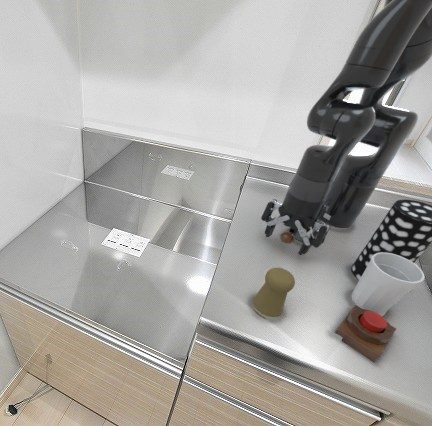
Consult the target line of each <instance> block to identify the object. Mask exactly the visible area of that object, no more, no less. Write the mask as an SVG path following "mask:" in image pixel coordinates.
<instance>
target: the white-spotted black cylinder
mask: <svg viewBox="0 0 432 426" xmlns="http://www.w3.org/2000/svg"><path fill="white" fill-rule="evenodd" d="M431 244H432V205H431V204H429V203H426V202H423V201H418V200H414V199H398V200H395V202H393V204H392V206H391V207H390V208H389V210H388V212H387V213H386V214H385V216H384V218H383V219H382V221H381V222H380V224H379V225H378V226H377V228H376V229H375V231H374V233H373V234H372V236H371V237H370V239H369V240H368V242H367V243H366V244H365V246H364V247H363V249H362V251H360V254H358V256H357V258H356V260H355V261H354V263H353V264H351V265H352V266H350V271H351V274H352V275H353V277H355V278H356V280H358V281H359V280H360V278H361V277H362V275H363V273H364V271H365V269H366V268H367V266H368V264H369V262H370V260H371V258H372V256H373V255H374V254H376V253H381V252H385V253H392V254H396V255H399V256H401V257H404V258H406V259H408V260H410V261H411V262H413V263H414V264H416V263H415V262H417V260H418V259H419V258H420V257H421V255H423V253H424V252H425V251H426V250H427V249H428V247H429V246H430V245H431Z"/></svg>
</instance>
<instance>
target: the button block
mask: <svg viewBox="0 0 432 426" xmlns="http://www.w3.org/2000/svg"><path fill="white" fill-rule="evenodd" d="M366 311H370V310H366V309H362V308H360V307H359V306H358V305H357V304H355V305H354V306H353V307H352V308H351V310H350V311H349V313H348V314H347V315H346V316H345V318H344V319H343V320H342V321H341V323H340V324H339V325H338V327H337V328H336V330H335V331H334V333H335V334H337V335H338V336H340V337H341V341H342V342H343V344H346V345H347V346H348V347H350V348H352V349H353V350H355V351H356V352H358V353H359V354H360V355H362V356H363V357H365V358H367V359H368V360H370V361H371V362H373V363H375V362H376V361H378V360H379V358H380V357H381V356H382V354H383V352H384V351H385V349H386V347H387V346H388V343H389V342H390V340H391V338H392V337H393V335H394V334H395V332H396V330H397V327H395V326H393V325H391V324H390V323H389V322H388V321H387V320H386V322H387V326H386V327H385V328H384V329H383V331H382V332H380V333H374V332H371V331H369V330H367V329H366V328H364V327H363V326H362V325H361V323H360V321H359V319H360V317H361V316H362V315H363V313H364V312H366ZM372 312H373V311H372Z"/></svg>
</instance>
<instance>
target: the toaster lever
mask: <svg viewBox="0 0 432 426" xmlns="http://www.w3.org/2000/svg"><path fill="white" fill-rule="evenodd" d="M295 232H296V230H294V229H292V228H291V229H290V231H286V230H285V231H283V232H281V234H280V236H279V238H280V241H281V242H282V243H284V244H288V245H289V244H292V243H293V242H294V241H295V240H296V239H295V236H294V233H295Z"/></svg>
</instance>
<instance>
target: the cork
mask: <svg viewBox="0 0 432 426" xmlns="http://www.w3.org/2000/svg"><path fill="white" fill-rule="evenodd" d="M295 285H296V280H295V277H294V275H293V274H292V273H291V272H290V271H289V270H288V269H285V268H282V267H273V268H270V269H269V270H268V271H266V273H265V276H264V283H263V285H262V286H261V287H260V289H259V291H258V292H257V293H256V294H255V296H254V298H253V300H252V304H253V306H254V308H255V309H254V308H253V309H252V310H253V312H254V313H255V314H256V315H257V316H259V317H260V318H262V319H264V320H267V318H266V317H268V318H277V317H279V316H280V315H282V314H283V313H282V312H283V310H284V307H285V303H286V298H287V297H288V293H289V292H291V291H292V290H293V289H294V287H295ZM263 315H264V316H263Z"/></svg>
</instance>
